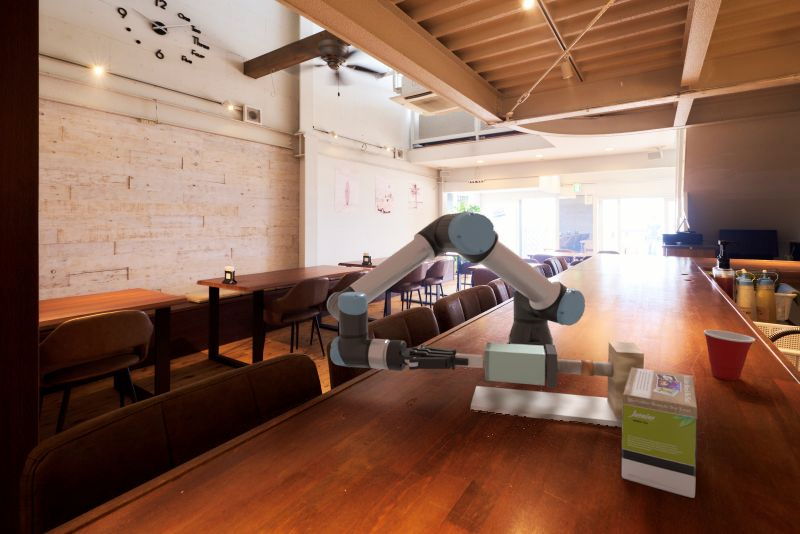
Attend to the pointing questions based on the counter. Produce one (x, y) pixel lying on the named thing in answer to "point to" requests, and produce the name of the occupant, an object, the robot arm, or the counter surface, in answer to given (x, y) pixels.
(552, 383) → the dark grey square plate
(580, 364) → the pipe stand
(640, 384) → the tea box
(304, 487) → the counter surface
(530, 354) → the sleeve
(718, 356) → the plastic cup
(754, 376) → the counter surface
